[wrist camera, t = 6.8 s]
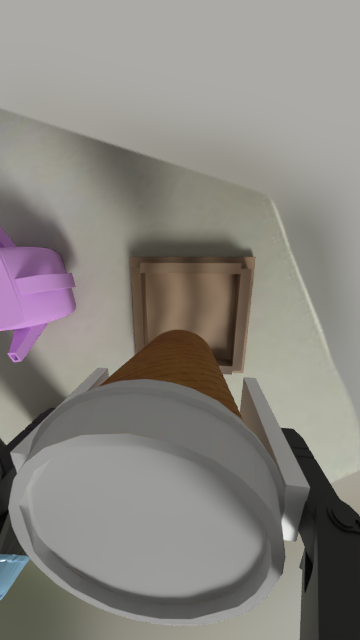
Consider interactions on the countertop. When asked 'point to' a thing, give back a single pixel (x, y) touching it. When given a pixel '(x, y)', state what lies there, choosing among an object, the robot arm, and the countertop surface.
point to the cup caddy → (195, 302)
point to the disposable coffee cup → (154, 493)
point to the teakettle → (31, 292)
